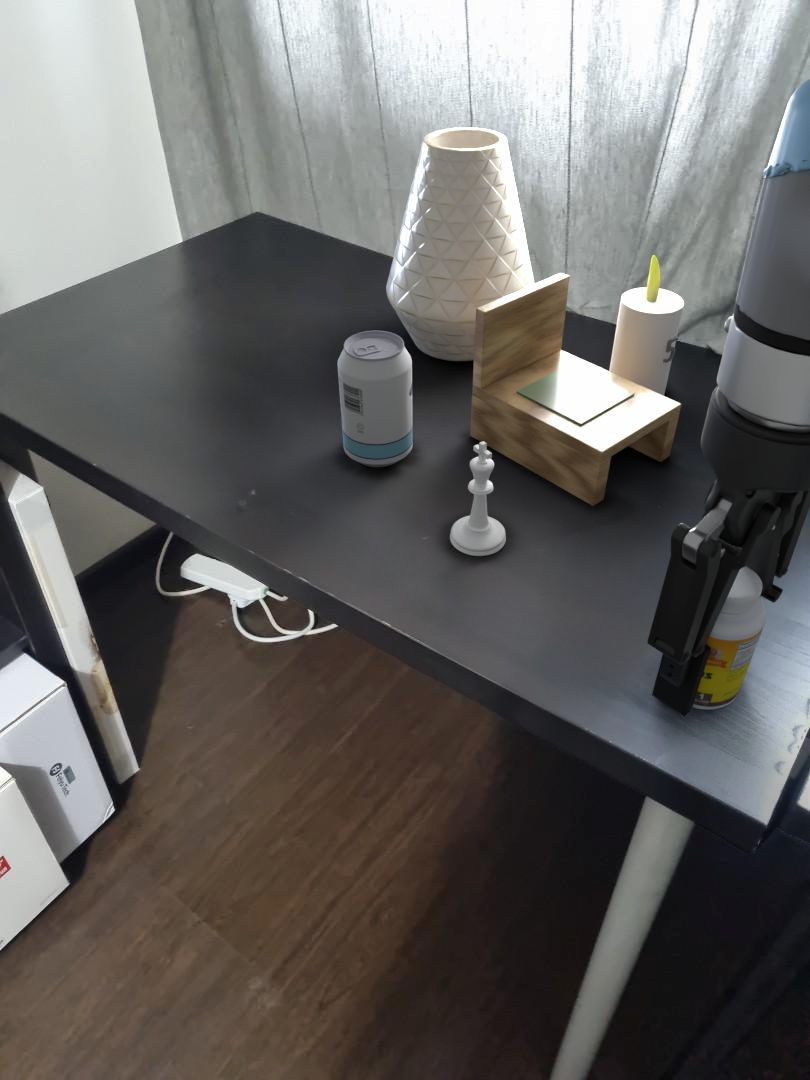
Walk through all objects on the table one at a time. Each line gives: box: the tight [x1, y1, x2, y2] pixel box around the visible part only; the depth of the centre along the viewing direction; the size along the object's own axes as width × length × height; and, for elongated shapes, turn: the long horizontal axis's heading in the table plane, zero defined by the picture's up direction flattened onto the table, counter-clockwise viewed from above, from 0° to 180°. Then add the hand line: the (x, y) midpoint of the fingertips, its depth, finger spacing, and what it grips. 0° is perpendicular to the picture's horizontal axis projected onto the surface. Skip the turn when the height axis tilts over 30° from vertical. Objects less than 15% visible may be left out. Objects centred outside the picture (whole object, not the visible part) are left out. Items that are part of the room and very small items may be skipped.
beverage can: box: [337, 330, 414, 468], centre depth 79 cm, size 7×7×12 cm
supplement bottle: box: [692, 566, 767, 711], centre depth 56 cm, size 6×6×10 cm
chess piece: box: [449, 441, 507, 557], centre depth 70 cm, size 5×5×10 cm
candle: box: [608, 254, 685, 396], centre depth 87 cm, size 6×6×15 cm
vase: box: [385, 126, 536, 362], centre depth 94 cm, size 17×17×23 cm
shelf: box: [470, 272, 682, 507], centre depth 79 cm, size 16×12×14 cm
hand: (696, 679), depth 60 cm, fingers closed on supplement bottle, 6 cm apart
